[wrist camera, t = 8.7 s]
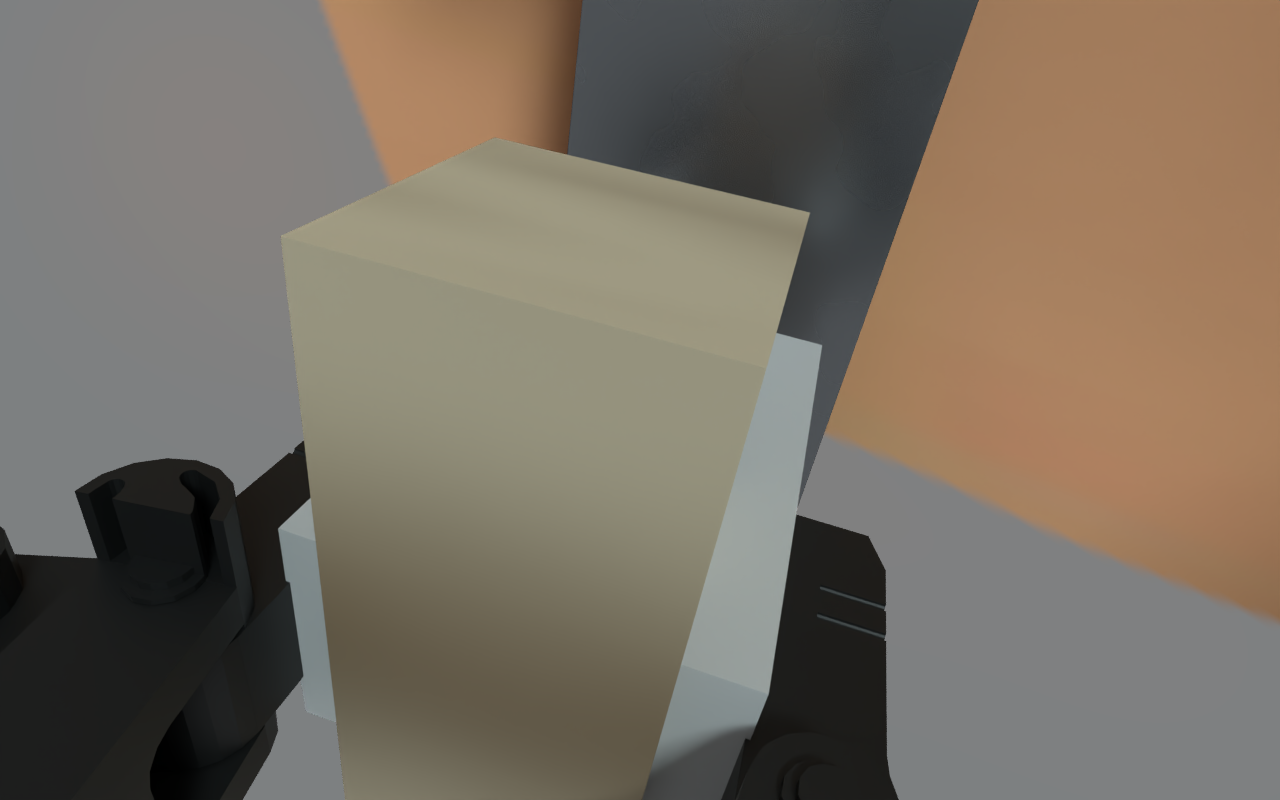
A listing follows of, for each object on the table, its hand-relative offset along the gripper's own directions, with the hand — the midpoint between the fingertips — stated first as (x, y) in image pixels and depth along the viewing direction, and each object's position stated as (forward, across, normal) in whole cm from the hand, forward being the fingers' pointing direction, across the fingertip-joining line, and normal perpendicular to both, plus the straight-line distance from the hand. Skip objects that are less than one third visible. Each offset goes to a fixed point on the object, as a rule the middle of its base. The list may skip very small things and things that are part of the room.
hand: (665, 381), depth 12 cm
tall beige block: (+3, 0, +1) cm, 3 cm away
